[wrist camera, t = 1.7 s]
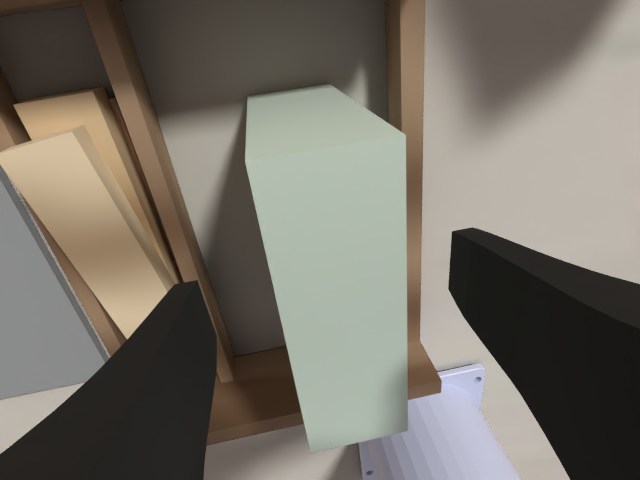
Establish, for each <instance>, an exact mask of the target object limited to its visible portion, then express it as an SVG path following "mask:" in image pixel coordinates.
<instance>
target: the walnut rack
mask: <svg viewBox="0 0 640 480" xmlns="http://www.w3.org/2000/svg"><path fill="white" fill-rule="evenodd" d="M119 1H120V0H0V16H4V15H11V14H19V13H27V12H35V11H42V10H50V9H58V8H66V7H74V6H81V5H82V7H83V9H84V12H85V15H86V18H87V20H88V23H89V26H90V28H91V31H92V34H93V37H94V39H95V42H96V45H97V47H98V50H99V53H100V56H101V58H102V61H103V64H104V66H105V69H106V72H107V75H108V77H109V80H110V83H111V85H112V88H113V91H114V94H115V96H116V99H117V102H118V104H119V107H120V110H121V113H122V115H123V118H124V121H125V123H126V126H127V129H128V132H129V134H130V137H131V140H132V142H133V145H134V148H135V151H136V153H137V156H138V159H139V161H140V164H141V167H142V170H143V172H144V175H145V178H146V180H147V183H148V186H149V188H150V191H151V194H152V197H153V199H154V202H155V205H156V207H157V210H158V213H159V216H160V218H161V221H162V224H163V226H164V229H165V232H166V235H167V237H168V240H169V243H170V245H171V248H172V251H173V254H174V256H175V259H176V262H177V264H178V267H179V270H180V273H181V275H182V278H183V281H184V282H189V281H195V280H198V283H199V286H200V289H201V292H202V295H203V298H204V300H205V303H206V306H207V309H208V312H209V315H210V318H211V321H212V324H213V326H214V329H215V332H216V335H217V371H216V379H215V386H214V394H213V401H212V408H211V415H210V422H209V430H208V437H207V444H206V446H207V445H211V444H216V443H220V442H225V441H229V440H234V439H238V438H242V437H247V436H251V435H256V434H260V433H265V432H269V431H274V430H278V429H282V428H287V427H291V426H296V425H300V424H304V421H303V416H302V412H301V408H300V403H299V399H298V394H297V390H296V385H295V381H294V377H293V372H292V368H291V363H290V359H289V354H288V350H287V346H286V347H281V348H277V349H272V350H267V351H262V352H257V353H253V354H248V355H243V356H238V357H235V356H234V353H233V350H232V347H231V344H230V341H229V338H228V335H227V332H226V328H225V325H224V322H223V319H222V316H221V313H220V310H219V307H218V304H217V301H216V298H215V295H214V292H213V289H212V286H211V282H210V279H209V276H208V273H207V270H206V267H205V264H204V261H203V258H202V255H201V252H200V249H199V246H198V243H197V239H196V236H195V233H194V230H193V227H192V224H191V221H190V218H189V215H188V212H187V209H186V206H185V203H184V200H183V197H182V193H181V190H180V187H179V184H178V181H177V178H176V175H175V172H174V169H173V166H172V163H171V160H170V157H169V154H168V150H167V147H166V144H165V141H164V138H163V135H162V132H161V129H160V126H159V123H158V120H157V117H156V114H155V111H154V108H153V104H152V101H151V98H150V95H149V92H148V89H147V86H146V83H145V80H144V77H143V74H142V71H141V68H140V65H139V61H138V58H137V55H136V52H135V49H134V46H133V43H132V40H131V37H130V34H129V31H128V28H127V25H126V22H125V19H124V15H123V12H122V9H121V6H120V3H119ZM385 18H386V52H387V86H388V120H389V124H390V125H392V126H393V127H395V128H396V129H398V130H399V131H401V132H402V133H404V134H405V135H406V220H407V359H408V400H411V399H416V398H420V397H425V396H429V395H434V394H438V393H441V386H442V380H441V378H440V377H439V375H438V373H437V371H436V369H435V368H434V366H433V364H432V362H431V360H430V358H429V357H428V355H427V353H426V351H425V349H424V347H423V346H422V344H421V342H420V301H421V234H422V168H423V102H424V36H425V0H385ZM14 104H17V101H16V99H15V97H14V95H13V93H12V91H11V89H10V87H9V85H8V83H7V81H6V79H5V77H4V75H3V73H2V71H1V69H0V152H2V151H4V150H6V149H8V148H10V147H12V146H16V145H19V144H22V143H25V142H29V141H32V139H31V138H30V136H29V134H28V132H27V130H26V128H25V126H24V125H23V123H22V121H21V119H20V117H19V115H18V113H17V111H16V110H15V108H14V106H13V105H14ZM20 193H21V192H20ZM21 195H22V194H21ZM22 197H23V195H22ZM23 199H24V200H25V202H26V204H27V206H28V208H29V209H30V211H31V213H32V215H33V217H34V218H35V220H36V222H37V224H38V226H39V227H40V229H41V231H42V233H43V235H44V237H45V238H46V240H47V242H48V244H49V246H50V247H51V249H52V251H53V253H54V255H55V256H56V258H57V260H58V262H59V264H60V265H61V267H62V269H63V271H64V273H65V274H66V276H67V278H68V280H69V282H70V283H71V285H72V287H73V289H74V291H75V292H76V294H77V296H78V298H79V300H80V302H81V303H82V305H83V307H84V309H85V311H86V312H87V314H88V316H89V318H90V320H91V321H92V323H93V325H94V327H95V329H96V330H97V332H98V334H99V336H100V338H101V339H102V341H103V343H104V345H105V347H106V348H107V350H108V352H109V354H110V356H112V355H113V354H114V353H115V352H116V351H117V350H118V349H119V348H120V347H121V346H122V345H123V343H124V342H125V341H126V340H127V339H126V337H125V336H124V334H123V333H122V332H121V330H120V329H119V327H118V326H117V325H116V323H115V322H114V321H113V319H112V318H111V316H110V315H109V314H108V312H107V311H106V310H105V308H104V307H103V305H102V304H101V303H100V301H99V300H98V299H97V297H96V296H95V294H94V293H93V292H92V290H91V289H90V288H89V286H88V285H87V283H86V282H85V281H84V279H83V278H82V277H81V275H80V274H79V272H78V271H77V270H76V268H75V267H74V265H73V264H72V263H71V261H70V260H69V259H68V257H67V256H66V254H65V253H64V252H63V250H62V249H61V248H60V246H59V245H58V243H57V242H56V241H55V239H54V238H53V237H52V235H51V234H50V232H49V231H48V230H47V228H46V227H45V226H44V224H43V223H42V221H41V220H40V219H39V217H38V216H37V214H36V213H35V212H34V210H33V209H32V208H31V206H30V205H29V203H28V202H27V201H26V199H25V198H24V197H23Z"/></svg>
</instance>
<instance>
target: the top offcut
mask: <svg viewBox="0 0 640 480" xmlns="http://www.w3.org/2000/svg"><path fill="white" fill-rule="evenodd" d="M0 165H1V166H2V168H3V169H4V170H5V172H6V173H7V175H8V176H9V177H10V179H11V180H12V181H13V183H14V184H15V186H16V187H17V188H18V190H19V191H20V192H21V194H22V195H23V197H24V198H25V199H26V201H27V202H28V203H29V205H30V206H31V208H32V209H33V210H34V212H35V213H36V214H37V216H38V217H39V219H40V220H41V221H42V223H43V224H44V226H45V227H46V228H47V230H48V231H49V232H50V234H51V235H52V237H53V238H54V239H55V241H56V242H57V243H58V245H59V246H60V248H61V249H62V250H63V252H64V253H65V254H66V256H67V257H68V259H69V260H70V261H71V263H72V264H73V265H74V267H75V268H76V270H77V271H78V272H79V274H80V275H81V277H82V278H83V279H84V281H85V282H86V283H87V285H88V286H89V288H90V289H91V290H92V292H93V293H94V294H95V296H96V297H97V299H98V300H99V301H100V303H101V304H102V305H103V307H104V308H105V310H106V311H107V312H108V314H109V315H110V316H111V318H112V319H113V321H114V322H115V323H116V325H117V326H118V327H119V329H120V330H121V332H122V333H123V334H124V336H125V337H126V339H128V338H129V337H130V336H131V335H132V334H133V332H134V331H135V330H136V329H137V328H138V327H139V325H140V324H141V323H142V322H143V321H144V320H145V318H146V317H147V316H148V315H149V314H150V313H151V311H152V310H153V309H154V308H155V307H156V305H157V304H158V303H159V302H160V301H161V299H162V298H163V297H164V296H165V295H166V293H167V292H168V291H169V290H170V289H171V288H172V287H173V285H174V284H175V282H174V280H173V278H172V277H171V275H170V273H169V271H168V270H167V268H166V266H165V264H164V263H163V261H162V259H161V257H160V256H159V254H158V252H157V250H156V249H155V247H154V245H153V244H152V242H151V240H150V238H149V237H148V235H147V233H146V231H145V230H144V228H143V226H142V224H141V223H140V221H139V219H138V217H137V216H136V214H135V212H134V210H133V209H132V207H131V205H130V203H129V202H128V200H127V198H126V196H125V195H124V193H123V191H122V189H121V188H120V186H119V184H118V183H117V181H116V179H115V177H114V176H113V174H112V172H111V170H110V169H109V167H108V165H107V164H106V162H105V160H104V158H103V157H102V155H101V153H100V152H99V150H98V148H97V146H96V145H95V143H94V141H93V139H92V138H91V136H90V134H89V133H88V131H87V129H86V127H85V126H84V125H81V126H78V127H74V128H71V129H68V130H65V131H61V132H58V133H55V134H51V135H48V136H45V137H42V138H38V139H35V140H32V141H29V142H25V143H22V144H19V145H16V146H12V147H10V148H8V149H6V150H4V151H2V152H0Z"/></svg>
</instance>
